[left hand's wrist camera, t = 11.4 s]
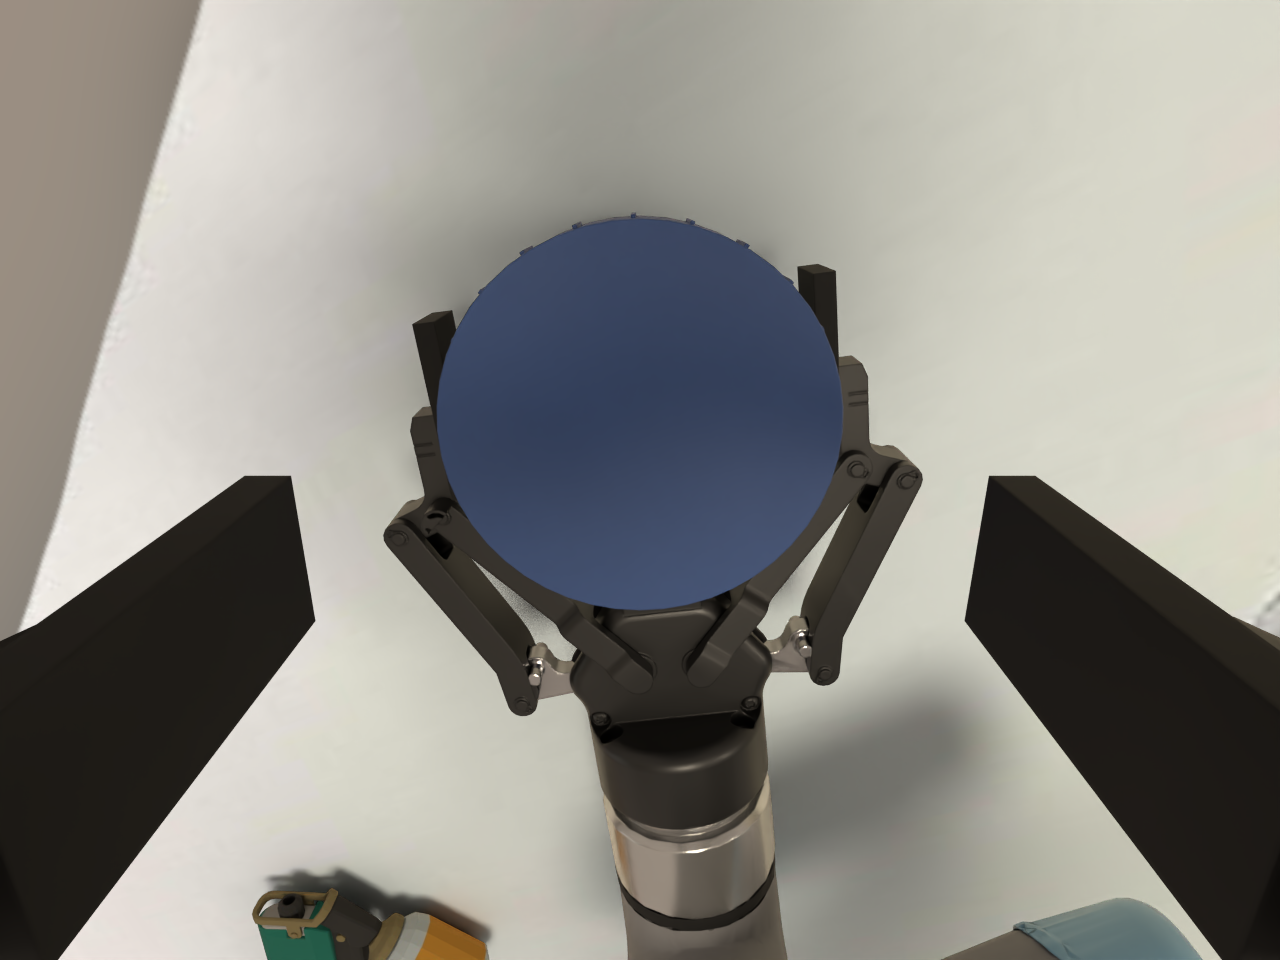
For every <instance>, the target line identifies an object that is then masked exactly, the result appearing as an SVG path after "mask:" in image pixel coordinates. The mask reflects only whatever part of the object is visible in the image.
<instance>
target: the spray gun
mask: <svg viewBox="0 0 1280 960" xmlns="http://www.w3.org/2000/svg"><path fill="white" fill-rule="evenodd" d="M337 895H338V891H336V890H334V889H333V888H331V889H329V890H328V892H327V893H314V892H293V891H270V892H267V893H266V894H264V895H263V896H262V897H261V898H260V899H259V900H258V902H257V904H256V906H255V907H254V909H253V913H252V916H253V919H254V921H255V923H256V924H258V927H259V931H260V935H261V938H262V942H263V945H264V949H265V952H266V956H267V959H268V960H489V955H488V950H487V945H486V944H485V943H484V942H482V941H480V940H478V939H476V938H474V937H472V936H470V935H468V934H466V933H464V932H462V931H460V930H458V929H456V928H454V927H453V926H451V925H449V924H447V923H445V922H443V921H441V920H439V919H437V918H435V917H433V916H431V915H429V914H425V913H419V912H414V913H412V914H409V915H407V916H405V917H404V916H403V915H401V914H399V913H394V914H392V915H391V916H390V917H389V918H388V919H386V920H384V921H382V922H381V921H380V920H378V919H377V918H376V917H375V916H373V915H372V914H370V913H368V912H367V911H365V910H363V909H362V908H360V907H358V906H357V905H355V904H354V903H352V902H350V901H349V900H347V899H345V898H344V897H342V896H341V895H338V896H337ZM271 899H282V900H281V901H280V902H279V903H277V904H274V905H272V906H270V907H268V908H267V909H265V910H264V911H263V912H262V913H261V915H260V916H259V913H260V911H261V910H262V908H263V906H264V905H265V903H266V902H267V901H269V900H271ZM313 900H321V901H318V902H317V903H316V905H314V901H313ZM322 901H325V902H322Z"/></svg>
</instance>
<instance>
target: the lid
mask: <svg viewBox="0 0 1280 960" xmlns="http://www.w3.org/2000/svg"><path fill="white" fill-rule="evenodd" d="M572 227H573V229H570V230H567V231H565V232H563V233H561V234H559V235H557V236H555V237H553V238H551V239H549V240H547V241H545V242H543V243H541V244H539V245H537V246H535V247H534V248H533V246H531V247H529V248H527V249H525V250H522V251H521V252H520V255H521V256H520V257H519V258H517V259H516V260H515V261H513V262H512V263H510V264H509V265H508V266H507V267H505V268H504V269H503V270H502V271H501V272H500V273H499V274H498V275H497V276H496V277H495V278H494V279H493V280H492V281H491V282H490V283H489V284H488V285H487V286H486V287H484V288H482V289H481V290H480V291H479V292H478V294H480V295H479V296H478V297H477V298H476V300H475V301H474V302H473V303H472V305H471V306H470V307H469V309H468V311H467V313H466V314H465V316H464V318H463V319H462V321H461V323H460V325H459V326H458V328H457V330H456V332H455V334H454V337H453V338H452V339H451V341H450V342H451V344H450V347H449V349H448V351H447V354H446V357H445V361H444V365H443V369H442V373H441V377H440V382H439V390H438V399H437V433H438V439H439V445H440V451H441V457H442V460H443V464H444V467H445V470H446V474H447V477H448V480H449V483H450V485H451V487H452V489H453V492H454V494H455V496H456V498H457V500H458V503H459V504H460V506H461V508H462V509H463V511H464V513H465V514H466V516H467V517H468V519H469V521H470V522H471V524H472V525H473V527H474V528H475V529H476V530H477V532H478V533H479V534H480V535H481V537H482V538H483V539H484V540H485V541H486V543H487V544H488V545H489V546H490V547H491V548H492V549H493V550H494V551H495V552H496V553H497V554H498V555H499V556H500V557H502V558H503V559H504V560H505V561H506V562H507V563H508V564H510V565H511V566H512V567H514V568H515V569H516V570H518V571H519V572H520V573H522V574H523V575H524V576H526V577H528V578H529V579H531V580H533V581H535V582H536V583H538V584H540V585H541V586H543V587H545V588H547V589H549V590H552V591H554V592H556V593H559V594H561V595H563V596H565V597H568V598H571V599H574V600H578V601H581V602H584V603H588V604H591V605H596V606H602V607H608V608H613V609H626V610H654V609H666V608H672V607H678V606H684V605H689V604H692V603H696V602H699V601H702V600H706V599H709V598H712V597H714V596H717V595H719V594H721V593H724V592H726V591H728V590H731V589H733V588H735V587H737V586H738V585H740V584H742V583H744V582H745V581H747V580H749V579H751V578H752V577H754V576H756V575H757V574H758V573H760V572H761V571H762V570H764V569H765V568H766V567H768V566H769V565H770V564H772V563H773V562H774V561H775V560H776V559H777V558H778V557H779V556H781V555H782V554H783V553H784V552H785V551H786V550H787V549H788V548H789V547H790V546H791V545H792V544H793V543H794V541H795V540H796V539H797V538H798V536H799V535H800V534H801V533H802V532H803V530H804V529H805V528H806V527H807V525H808V524H809V522H810V521H811V519H812V517H813V516H814V514H815V513H816V511H817V509H818V508H819V506H820V505H821V502H822V500H823V498H824V496H825V494H826V491H827V489H828V487H829V485H830V483H831V480H832V477H833V473H834V470H835V467H836V464H837V461H838V457H839V451H840V445H841V439H842V433H843V400H842V390H841V381H840V377H839V373H838V369H837V365H836V361H835V357H834V354H833V352H832V349H831V347H830V344H829V342H828V339H827V337H826V334H825V332H824V328H823V326H821V325H820V323H819V321H818V319H817V318H816V316H815V314H814V313H813V311H812V309H811V307H810V306H809V305H808V304H807V302H806V301H805V300H804V298H803V297H802V296H801V295H800V293H799V292H798V291H797V289H796V288H795V287H794V286H793V285H792V284H793V283H794V282H793V281H792V280H790V279H789V278H787V277H785V276H783V275H782V274H781V273H780V272H779V271H778V270H777V269H776V268H775V267H774V266H772V265H771V264H769V263H768V262H767V261H765V260H764V259H763V258H761V257H760V256H758V255H757V254H756V253H754V252H753V251H752V250H750V249H748V247H749V246H750V245H748V244H747V243H745V242H742V241H740V240H738V239H737V241H736V242H735V241H733V240H731V239H729V238H727V237H726V236H724V235H722V234H720V233H718V232H715V231H712V230H710V229H707V228H704V227H702V226H699V225H696V224H695V221H693V220H691V219H688V218H687V219H686V222H685V221H680V220H675V219H671V218H665V217H651V216H636V213H631V216H629V217H614V218H610V219H605V220H600V221H595V222H590V223H587V224H584V225H582V222H579V223H576V224H574V225H572Z"/></svg>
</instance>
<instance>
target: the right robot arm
mask: <svg viewBox="0 0 1280 960" xmlns="http://www.w3.org/2000/svg"><path fill="white" fill-rule="evenodd" d="M798 286H799V293H800V295H801V296H802V297H803V298H804V300H805V301H806V302H807V304H808V305H809V306H810V307H811V309H812V311H813V313H814V314H815V316H816V318H817V319H818V321H819V323H820V325H821V326H823V328H824V332H825V334H826V337H827V339H828V342H829V344H830V347H831V349H832V352H833V354H834V357H835V361H836V365H837V369H838V373H839V377H840V381H841V390H842V400H843V433H842V439H841V445H840V451H839V457H838V461H837V464H836V467H835V470H834V473H833V477H832V480H831V483H830V485H829V487H828V489H827V491H826V494H825V496H824V498H823V500H822V502H821V505H820V506H819V508H818V509H817V511H816V513H815V514H814V516H813V517H812V519H811V521H810V522H809V524H808V525H807V527H806V528H805V529H804V530H803V532H802V533H801V534H800V535H799V536H798V538H797V539H796V540H795V541H794V543H793V544H792V545H791V546H790V547H789V548H788V549H787V550H786V551H785V552H784V553H783V554H782V555H781V556H779V557H778V558H777V559H776V560H775V561H774V562H773V563H772V564H770V565H769V566H768V567H766V568H765V569H764V570H762V571H761V572H760V573H758V574H757V575H756V576H754V577H752V578H751V579H749V580H747V581H745V582H744V583H742V584H740V585H738V586H737V587H735V588H733V589H731V590H728V591H726V592H724V593H721V594H719V595H717V596H714V597H712V598H709V599H706V600H702V601H699V602H696V603H692V604H689V605H684V606H678V607H672V608H666V609H654V610H626V609H613V608H608V607H602V606H596V605H591V604H588V603H584V602H581V601H578V600H574V599H571V598H568V597H565V596H563V595H561V594H559V593H556V592H554V591H552V590H549V589H547V588H545V587H543V586H541V585H540V584H538V583H536V582H535V581H533V580H531V579H529V578H528V577H526V576H524V575H523V574H522V573H520V572H519V571H518V570H516V569H515V568H514V567H512V566H511V565H510V564H508V563H507V562H506V561H505V560H504V559H503V558H502V557H500V556H499V555H498V554H497V553H496V552H495V551H494V550H493V549H492V548H491V547H490V546H489V545H488V544H487V543H486V541H485V540H484V539H483V538H482V537H481V535H480V534H479V533H478V532H477V530H476V529H475V528H474V527H473V525H472V524H471V522H470V521H469V519H468V517H467V516H466V514H465V513H464V511H463V509H462V508H461V506H460V504H459V503H458V500H457V498H456V496H455V494H454V492H453V489H452V487H451V485H450V483H449V480H448V477H447V474H446V470H445V467H444V464H443V460H442V457H441V451H440V445H439V439H438V433H437V399H438V390H439V382H440V377H441V373H442V369H443V365H444V361H445V357H446V354H447V351H448V349H449V347H450V344H451V342H450V341H451V339H452V338H453V337H454V334H455V332H456V327H455V322H454V317H453V312H452V310H451V311H443V312H435V313H431V314H430V315H428V316H426V317H424V318H423V319H421V320H419V321H417V322H416V323H414V324H412V325H413V330H414V334H415V339H416V343H417V348H418V352H419V357H420V361H421V365H422V370H423V374H424V379H425V383H426V388H427V392H428V396H429V401H430V405H431V406H430V407H423V408H422V409H421V410H420V411H419V412H418V413H417V414H415V415H414V416H413V417H412V423H411V429H410V432H411V437H412V441H413V445H414V449H415V453H416V456H417V462H418V466H419V470H420V474H421V479H422V483H423V487H424V493H425V496H424V497H422V498H420V499H418V500H411V501H408V502H407V503H406V504H405V505H404V506H403V507H402V508H401V510H400V511H399V512H398V514H397V515H396V516H395V518H394V519H393V520H392V522H391V523H390V524H389V526H388V527H387V528H386V529H385V532H384V535H383V536H384V541H385V543H386V545H387V546H388V548H389V549H390V550H391V551H392V552H393V553H394V555H395V556H396V557H397V558H398V559H399V560H400V562H401V563H402V564H403V565H404V566H405V567H406V569H407V570H408V571H409V572H410V573H411V574H412V576H413V577H414V578H415V579H416V580H417V581H418V583H419V584H420V585H421V586H422V587H423V588H424V590H425V591H426V592H427V593H428V594H429V595H430V597H431V598H432V599H433V600H434V601H435V602H436V604H437V605H438V606H439V607H440V608H441V609H442V611H443V612H444V613H445V614H446V615H447V616H448V618H449V619H450V620H451V621H452V622H453V623H454V625H455V626H456V627H457V628H458V629H459V630H460V632H461V633H462V634H463V635H464V636H465V637H466V639H467V640H468V641H469V642H470V643H471V644H472V646H473V647H474V648H475V649H476V650H477V651H478V653H479V654H480V655H481V656H482V657H483V658H484V660H485V661H486V662H487V663H488V664H489V665H490V667H491V668H492V669H493V670H494V671H495V672H496V674H497V676H498V679H499V682H500V684H501V687H502V690H503V693H504V696H505V698H506V701H507V704H508V707H509V708H510V710H511V711H512V712H513V713H514V714H516V715H519V716H527V715H530V714H532V713H533V712H534V711H535V710H536V707H537V703H538V700H539V699H544V698H549V697H554V696H559V695H563V694H568V693H573V692H574V694H575V695H576V696H577V697H578V698H579V699H580V700H581V701H582V703H583V704H584V706H585V707H586V710H587V712H588V716H589V722H590V727H591V733H592V739H593V744H594V750H595V755H596V761H597V767H598V772H599V778H600V783H601V787H602V790H603V792H604V797H603V802H604V807H605V812H606V818H607V823H608V828H609V833H610V839H611V844H612V849H613V854H614V860H615V867H616V871H617V876H618V880H619V884H620V889H621V896H622V903H623V911H624V918H625V925H626V933H627V946H628V960H788V959H787V953H786V948H785V942H784V936H783V930H782V923H781V915H780V905H779V897H778V888H777V880H776V871H775V837H774V826H773V815H772V804H771V793H770V782H769V776H768V773H767V770H768V755H767V743H766V731H765V718H764V706H763V688H764V685H765V683H766V680H767V679H768V677H769V675H770V673H771V672H809V675H810V678H811V679H812V681H813V682H814V683H816V684H817V685H822V686H825V685H830V684H832V683H833V682H835V681H836V680H837V678H838V676H839V673H840V663H841V652H842V642H843V636H844V634H845V632H846V630H847V629H848V627H849V625H850V623H851V621H852V619H853V617H854V615H855V613H856V611H857V609H858V607H859V605H860V603H861V601H862V599H863V597H864V596H865V594H866V592H867V590H868V588H869V586H870V584H871V582H872V580H873V578H874V576H875V574H876V572H877V570H878V568H879V566H880V564H881V562H882V561H883V559H884V557H885V555H886V553H887V551H888V549H889V547H890V545H891V543H892V541H893V539H894V537H895V535H896V533H897V531H898V529H899V527H900V526H901V524H902V522H903V520H904V518H905V516H906V514H907V512H908V510H909V508H910V506H911V504H912V502H913V500H914V498H915V496H916V494H917V492H918V491H919V489H920V487H921V484H922V481H923V478H922V473H921V472H920V470H919V469H918V468H917V467H916V466H915V465H914V464H913V463H912V462H911V461H910V460H909V459H908V458H907V457H906V456H905V455H904V454H903V453H902V452H901V451H900V450H899V449H898V448H896V447H894V446H891V445H886V446H879V445H874V444H871V443H870V441H869V410H868V376H867V374H866V371H865V369H864V367H863V365H862V363H861V362H859V361H858V360H857V359H855V358H854V357H853V356H844V357H839V354H838V324H837V295H836V271H835V270H832V269H829V268H827V267H824V266H822V265H819V264H814V265H806V266H798ZM848 504H849V505H848ZM847 505H848V507H847ZM846 507H847V509H846V511H845V514H844V516H843V518H842V520H841V522H840V524H839V526H838V528H837V530H836V532H835V534H834V536H833V538H832V540H831V542H830V545H829V547H828V549H827V551H826V553H825V555H824V557H823V559H822V561H821V563H820V565H819V567H818V569H817V571H816V573H815V576H814V578H813V580H812V582H811V584H810V586H809V588H808V590H807V593H806V595H805V597H804V601H803V604H802V608H801V615H800V616H792V617H791V618H790V619H789V622H788V623H787V625H786V626H785V629H784V632H783V633H782V635H781V636H780V637H778V638H776V639H774V640H767V639H766V637H765V636H764V634H763V633H762V632H761V631H760V630H759V629H758V628H757V625H758V624H759V623H760V622H761V621H762V619H763V618H764V616H765V615H766V613H767V611H768V607H769V603H770V601H771V599H772V598H773V597H774V596H775V594H776V593H777V592H778V591H779V589H780V588H781V587H782V586H783V584H784V583H785V582H786V581H787V579H788V578H789V577H790V576H791V575H792V573H793V572H794V571H795V570H796V568H797V567H798V566H799V565H800V563H801V562H802V561H803V560H804V558H805V557H806V556H807V555H808V553H809V552H810V551H811V550H812V549H813V547H814V546H815V545H816V544H817V542H818V541H819V540H820V539H821V537H822V536H823V535H824V534H825V532H826V531H827V530H828V529H829V528H830V526H831V525H832V524H833V523H834V521H835V520H836V519H837V518H838V516H839V515H840V514H841V513H842V511H843V510H844V509H845V508H846ZM471 558H472V559H473V560H474V561H475V562H477V563H478V564H479V565H481V566H482V567H483V568H484V569H486V570H487V571H488V572H490V573H491V574H492V575H493V576H495V577H496V578H497V579H499V580H500V581H501V582H502V583H504V584H505V585H506V586H508V587H509V588H510V589H511V590H513V591H514V592H515V593H517V594H518V595H519V596H521V597H522V598H523V599H524V600H526V601H527V602H528V603H530V604H531V605H532V606H533V607H535V608H536V609H537V610H539V611H540V612H541V613H542V614H544V615H545V616H546V617H548V618H549V619H550V620H551V621H553V622H554V623H555V624H556V625H557V627H558V629H559V631H560V633H561V635H562V636H563V637H564V638H565V639H566V640H567V641H569V642H570V643H571V644H572V645H574V646H575V647H576V648H577V650H576V651H575V653H574V655H573V657H572V661H561V660H559V659H557V658H556V657H555V656H554V655H553V654H552V652H551V651H550V650H549V649H548V646H547V645H546V644H545V643H537V644H535V642H534V639H533V637H532V635H531V633H530V631H529V630H528V628H527V627H526V625H525V624H524V622H523V621H522V620H521V618H520V617H519V616H518V615H517V614H516V612H515V611H514V610H513V609H512V608H511V606H510V605H509V604H508V603H507V601H506V600H505V599H504V598H503V597H502V595H501V594H500V593H499V592H498V590H497V589H496V588H495V587H494V586H493V584H492V583H491V582H490V581H489V579H488V578H487V577H486V576H485V575H484V573H483V572H482V571H481V570H480V569H479V567H478V566H477V565H476V564H475V562H474V561H473V560H472V559H471ZM941 960H1202V958H1201V957H1200V955H1199V954H1198V953H1197V951H1196V950H1195V949H1194V948H1193V946H1192V945H1191V944H1190V943H1189V941H1188V940H1187V939H1186V938H1185V936H1184V935H1183V934H1182V933H1181V932H1180V931H1179V929H1178V928H1177V927H1176V926H1175V925H1174V924H1173V923H1172V922H1171V921H1170V920H1169V919H1168V918H1167V917H1166V916H1164V915H1163V914H1162V913H1161V912H1160V911H1158V910H1157V909H1155V908H1153V907H1152V906H1150V905H1148V904H1146V903H1144V902H1141V901H1138V900H1135V899H1130V898H1115V899H1111V900H1107V901H1104V902H1100V903H1097V904H1093V905H1090V906H1086V907H1083V908H1079V909H1076V910H1072V911H1069V912H1066V913H1062V914H1059V915H1055V916H1052V917H1048V918H1045V919H1041V920H1038V921H1034V922H1031V923H1030V922H1021V923H1018V924H1016V925H1014V927H1013V931H1011V932H1008V933H1006V934H1003V935H1001V936H998V937H996V938H994V939H991V940H989V941H986V942H984V943H981V944H979V945H976V946H974V947H971V948H969V949H966V950H964V951H961V952H959V953H956V954H954V955H951V956H949V957H946V958H944V959H941Z"/></svg>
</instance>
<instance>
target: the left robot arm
mask: <svg viewBox="0 0 1280 960" xmlns="http://www.w3.org/2000/svg"><path fill="white" fill-rule="evenodd" d="M314 622H315V616H314V610H313V604H312V598H311V592H310V586H309V580H308V574H307V568H306V562H305V556H304V551H303V545H302V539H301V533H300V527H299V521H298V515H297V509H296V503H295V497H294V491H293V485H292V479H291V476H244V477H242V478H241V479H240V480H238V481H237V482H235V483H234V484H233V485H231V486H230V487H228V488H227V489H226V490H224V491H223V492H221V493H220V494H219V495H217V496H216V497H214V498H213V499H212V500H210V501H209V502H207V503H206V504H205V505H203V506H202V507H200V508H199V509H198V510H196V511H195V512H193V513H192V514H191V515H189V516H188V517H186V518H185V519H184V520H182V521H181V522H179V523H178V524H177V525H175V526H174V527H172V528H171V529H170V530H168V531H167V532H165V533H164V534H163V535H161V536H160V537H158V538H157V539H156V540H154V541H153V542H151V543H150V544H149V545H147V546H146V547H144V548H143V549H142V550H140V551H139V552H137V553H136V554H135V555H133V556H132V557H130V558H129V559H128V560H126V561H125V562H123V563H122V564H121V565H119V566H118V567H116V568H115V569H114V570H112V571H111V572H109V573H108V574H107V575H105V576H104V577H102V578H101V579H100V580H98V581H97V582H95V583H94V584H93V585H91V586H90V587H88V588H87V589H86V590H84V591H83V592H81V593H80V594H79V595H77V596H76V597H74V598H73V599H72V600H70V601H69V602H67V603H66V604H65V605H63V606H62V607H60V608H59V609H58V610H56V611H55V612H53V613H52V614H51V615H49V616H48V617H46V618H45V619H44V620H42V621H41V622H39V623H38V624H36V625H34V626H32V627H30V628H28V629H26V630H24V631H21V632H19V633H17V634H15V635H13V636H11V637H8V638H6V639H4V640H2V641H0V960H58V959H59V958H60V956H61V955H62V954H63V953H64V951H65V950H66V949H67V947H68V946H69V945H70V943H71V942H72V941H73V939H74V938H75V937H76V935H77V934H78V933H79V931H80V930H81V929H82V927H83V926H84V925H85V924H86V922H87V921H88V920H89V918H90V917H91V916H92V914H93V913H94V912H95V910H96V909H97V908H98V906H99V905H100V904H101V902H102V901H103V900H104V899H105V897H106V896H107V895H108V893H109V892H110V891H111V889H112V888H113V887H114V885H115V884H116V883H117V881H118V880H119V879H120V877H121V876H122V875H123V874H124V872H125V871H126V870H127V868H128V867H129V866H130V864H131V863H132V862H133V860H134V859H135V858H136V856H137V855H138V854H139V852H140V851H141V850H142V849H143V847H144V846H145V845H146V843H147V842H148V841H149V839H150V838H151V837H152V835H153V834H154V833H155V831H156V830H157V829H158V827H159V826H160V825H161V823H162V822H163V821H164V820H165V818H166V817H167V816H168V814H169V813H170V812H171V810H172V809H173V808H174V806H175V805H176V804H177V802H178V801H179V800H180V798H181V797H182V796H183V795H184V793H185V792H186V791H187V789H188V788H189V787H190V785H191V784H192V783H193V781H194V780H195V779H196V777H197V776H198V775H199V773H200V772H201V771H202V770H203V768H204V767H205V766H206V764H207V763H208V762H209V760H210V759H211V758H212V756H213V755H214V754H215V752H216V751H217V750H218V748H219V747H220V746H221V745H222V743H223V742H224V741H225V739H226V738H227V737H228V735H229V734H230V733H231V731H232V730H233V729H234V727H235V726H236V725H237V723H238V722H239V721H240V719H241V718H242V717H243V716H244V714H245V713H246V712H247V710H248V709H249V708H250V706H251V705H252V704H253V702H254V701H255V700H256V698H257V697H258V696H259V694H260V693H261V692H262V691H263V689H264V688H265V687H266V685H267V684H268V683H269V681H270V680H271V679H272V677H273V676H274V675H275V673H276V672H277V671H278V669H279V668H280V667H281V666H282V664H283V663H284V662H285V660H286V659H287V658H288V656H289V655H290V654H291V652H292V651H293V650H294V648H295V647H296V646H297V644H298V643H299V642H300V641H301V639H302V638H303V637H304V635H305V634H306V633H307V631H308V630H309V629H310V627H311V626H312V625H313V623H314ZM965 622H966V623H967V625H968V626H969V627H970V629H971V630H972V631H973V633H974V634H975V635H976V637H977V638H978V639H979V641H980V642H981V643H982V644H983V646H984V647H985V648H986V650H987V651H988V652H989V654H990V655H991V656H992V658H993V659H994V660H995V662H996V663H997V664H998V666H999V667H1000V668H1001V669H1002V671H1003V672H1004V673H1005V675H1006V676H1007V677H1008V679H1009V680H1010V681H1011V683H1012V684H1013V685H1014V687H1015V688H1016V689H1017V691H1018V692H1019V693H1020V694H1021V696H1022V697H1023V698H1024V700H1025V701H1026V702H1027V704H1028V705H1029V706H1030V708H1031V709H1032V710H1033V712H1034V713H1035V714H1036V716H1037V717H1038V718H1039V720H1040V721H1041V722H1042V723H1043V725H1044V726H1045V727H1046V729H1047V730H1048V731H1049V733H1050V734H1051V735H1052V737H1053V738H1054V739H1055V741H1056V742H1057V743H1058V745H1059V746H1060V747H1061V748H1062V750H1063V751H1064V752H1065V754H1066V755H1067V756H1068V758H1069V759H1070V760H1071V762H1072V763H1073V764H1074V766H1075V767H1076V768H1077V770H1078V771H1079V772H1080V773H1081V775H1082V776H1083V777H1084V779H1085V780H1086V781H1087V783H1088V784H1089V785H1090V787H1091V788H1092V789H1093V791H1094V792H1095V793H1096V795H1097V796H1098V797H1099V798H1100V800H1101V801H1102V802H1103V804H1104V805H1105V806H1106V808H1107V809H1108V810H1109V812H1110V813H1111V814H1112V816H1113V817H1114V818H1115V820H1116V821H1117V822H1118V823H1119V825H1120V826H1121V827H1122V829H1123V830H1124V831H1125V833H1126V834H1127V835H1128V837H1129V838H1130V839H1131V841H1132V842H1133V843H1134V845H1135V846H1136V847H1137V849H1138V850H1139V851H1140V852H1141V854H1142V855H1143V856H1144V858H1145V859H1146V860H1147V862H1148V863H1149V864H1150V866H1151V867H1152V868H1153V870H1154V871H1155V872H1156V874H1157V875H1158V876H1159V877H1160V879H1161V880H1162V881H1163V883H1164V884H1165V885H1166V887H1167V888H1168V889H1169V891H1170V892H1171V893H1172V895H1173V896H1174V897H1175V899H1176V900H1177V901H1178V902H1179V904H1180V905H1181V906H1182V908H1183V909H1184V910H1185V912H1186V913H1187V914H1188V916H1189V917H1190V918H1191V920H1192V921H1193V922H1194V924H1195V925H1196V926H1197V927H1198V929H1199V930H1200V931H1201V933H1202V934H1203V935H1204V937H1205V938H1206V939H1207V941H1208V942H1209V943H1210V945H1211V946H1212V947H1213V949H1214V950H1215V951H1216V953H1217V954H1218V955H1219V956H1220V958H1221V959H1222V960H1280V638H1279V637H1277V636H1275V635H1272V634H1270V633H1268V632H1266V631H1264V630H1261V629H1259V628H1257V627H1255V626H1253V625H1251V624H1248V623H1246V622H1244V621H1242V620H1240V619H1238V618H1235V617H1232V616H1231V615H1229V614H1228V613H1227V612H1225V611H1224V610H1222V609H1221V608H1220V607H1218V606H1217V605H1215V604H1214V603H1213V602H1211V601H1210V600H1208V599H1207V598H1206V597H1204V596H1203V595H1201V594H1200V593H1199V592H1197V591H1196V590H1194V589H1193V588H1192V587H1190V586H1189V585H1187V584H1186V583H1185V582H1183V581H1182V580H1180V579H1179V578H1178V577H1176V576H1175V575H1173V574H1172V573H1171V572H1169V571H1168V570H1166V569H1165V568H1164V567H1162V566H1161V565H1159V564H1158V563H1157V562H1155V561H1154V560H1152V559H1151V558H1150V557H1148V556H1147V555H1145V554H1144V553H1143V552H1141V551H1140V550H1138V549H1137V548H1136V547H1134V546H1133V545H1131V544H1130V543H1129V542H1127V541H1126V540H1124V539H1123V538H1122V537H1120V536H1119V535H1117V534H1116V533H1115V532H1113V531H1112V530H1110V529H1109V528H1108V527H1106V526H1105V525H1103V524H1102V523H1101V522H1099V521H1098V520H1096V519H1095V518H1094V517H1092V516H1091V515H1089V514H1088V513H1087V512H1085V511H1084V510H1082V509H1081V508H1080V507H1078V506H1077V505H1075V504H1074V503H1073V502H1071V501H1070V500H1068V499H1067V498H1066V497H1064V496H1063V495H1061V494H1060V493H1059V492H1057V491H1056V490H1054V489H1053V488H1052V487H1050V486H1049V485H1047V484H1046V483H1045V482H1043V481H1042V480H1040V479H1039V478H1038V477H1036V476H989V479H988V485H987V491H986V497H985V503H984V509H983V515H982V521H981V527H980V533H979V539H978V545H977V551H976V556H975V562H974V568H973V574H972V580H971V586H970V592H969V598H968V604H967V610H966V616H965Z"/></svg>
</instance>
